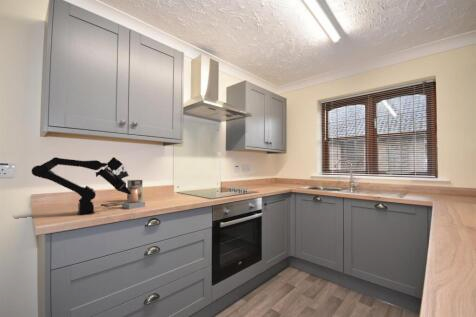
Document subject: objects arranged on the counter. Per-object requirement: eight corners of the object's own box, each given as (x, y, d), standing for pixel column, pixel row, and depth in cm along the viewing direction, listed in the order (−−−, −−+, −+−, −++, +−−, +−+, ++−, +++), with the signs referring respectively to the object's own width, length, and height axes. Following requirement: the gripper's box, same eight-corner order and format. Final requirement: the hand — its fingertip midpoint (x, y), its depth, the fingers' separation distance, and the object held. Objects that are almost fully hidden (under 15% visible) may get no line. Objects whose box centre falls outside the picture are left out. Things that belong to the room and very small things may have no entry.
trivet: (107, 208, 143) (107, 206, 143) (100, 206, 150) (100, 204, 150) (126, 205, 152) (126, 203, 152) (119, 203, 159) (119, 201, 159)
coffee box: (131, 201, 168) (132, 180, 169) (126, 201, 172) (126, 180, 172) (142, 200, 176) (142, 179, 177) (137, 199, 180) (137, 179, 180)
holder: (129, 210, 134) (129, 204, 134) (122, 208, 141) (122, 202, 141) (145, 208, 142) (145, 201, 142) (137, 206, 148) (137, 200, 148)
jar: (131, 208, 137) (131, 187, 138) (127, 207, 141) (127, 186, 141) (140, 206, 142) (140, 186, 142) (135, 205, 145) (136, 185, 146)
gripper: (121, 166, 130) (141, 184, 136) (118, 166, 146) (137, 182, 151) (105, 181, 126) (127, 198, 131) (104, 179, 141) (124, 195, 147)
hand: (129, 193), depth 140 cm, fingers open, 9 cm apart
